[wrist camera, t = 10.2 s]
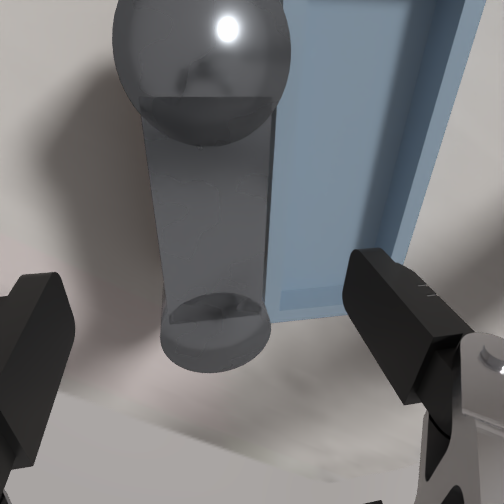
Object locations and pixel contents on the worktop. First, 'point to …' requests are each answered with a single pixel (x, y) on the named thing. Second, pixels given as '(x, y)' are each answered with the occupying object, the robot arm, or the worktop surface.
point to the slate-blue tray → (356, 138)
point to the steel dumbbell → (207, 162)
